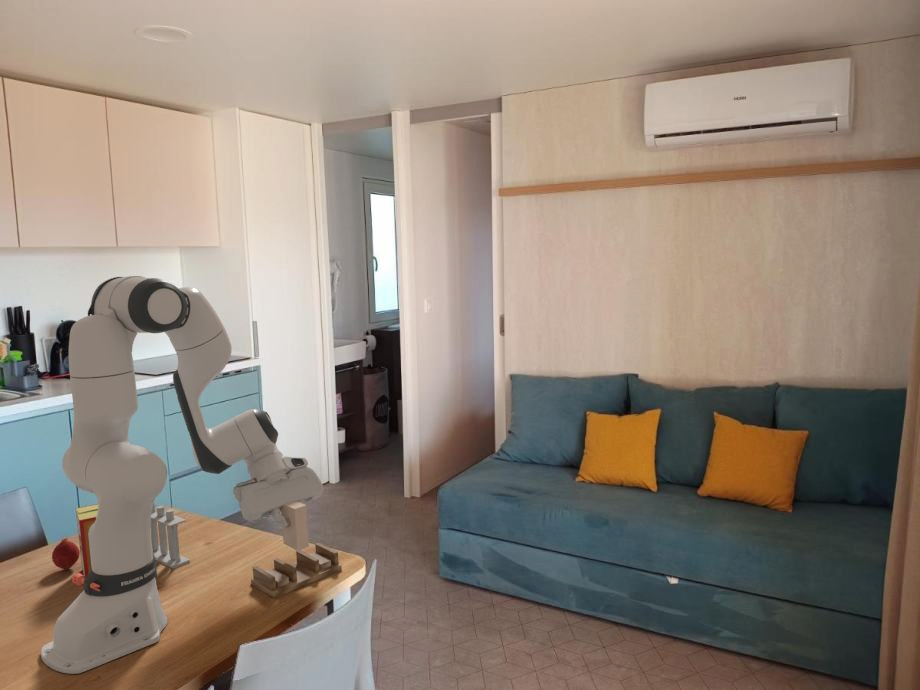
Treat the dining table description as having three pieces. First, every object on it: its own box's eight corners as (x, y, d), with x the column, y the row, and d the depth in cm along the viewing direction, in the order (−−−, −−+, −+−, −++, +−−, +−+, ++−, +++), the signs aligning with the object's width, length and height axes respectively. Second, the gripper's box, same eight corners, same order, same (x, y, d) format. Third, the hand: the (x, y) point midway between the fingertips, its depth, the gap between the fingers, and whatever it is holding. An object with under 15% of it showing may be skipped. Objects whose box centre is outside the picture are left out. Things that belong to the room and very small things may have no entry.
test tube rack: (123, 543, 182) (119, 495, 180) (140, 538, 185) (135, 490, 184) (173, 569, 167) (168, 516, 165) (190, 562, 170) (185, 511, 168)
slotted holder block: (274, 598, 151) (273, 580, 150) (251, 583, 158) (249, 566, 157) (341, 569, 164) (340, 553, 163) (317, 557, 171) (316, 541, 170)
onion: (79, 572, 166) (75, 540, 165) (51, 577, 164) (48, 544, 163) (82, 562, 171) (79, 531, 170) (55, 566, 169) (52, 535, 168)
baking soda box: (117, 577, 163) (110, 512, 161) (86, 585, 159) (79, 519, 157) (111, 562, 171) (105, 500, 168) (82, 570, 167) (75, 506, 165)
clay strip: (297, 550, 157) (294, 509, 155) (283, 543, 161) (280, 502, 160) (308, 546, 159) (306, 505, 158) (294, 539, 163) (291, 498, 162)
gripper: (234, 478, 155) (259, 531, 150) (311, 456, 169) (337, 504, 164) (226, 492, 159) (250, 545, 153) (302, 470, 173) (327, 517, 168)
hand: (296, 523), depth 159 cm, fingers closed on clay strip, 3 cm apart
